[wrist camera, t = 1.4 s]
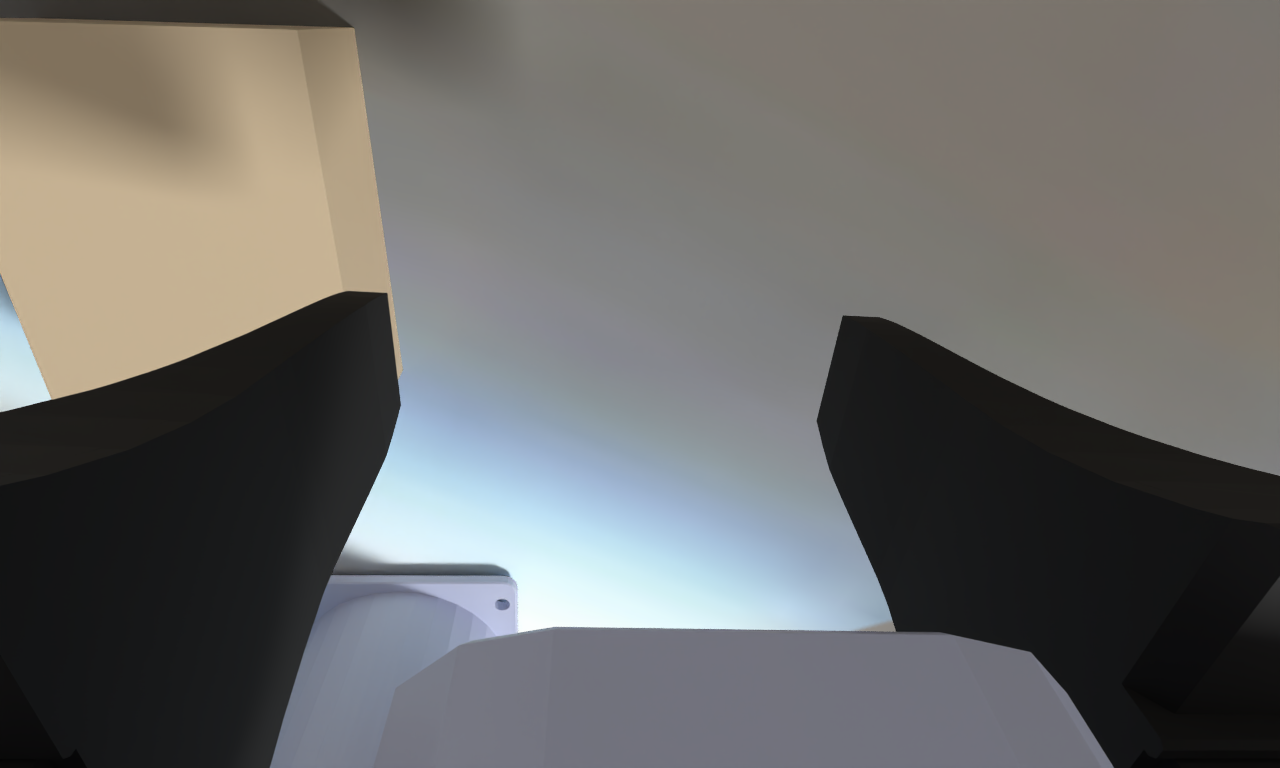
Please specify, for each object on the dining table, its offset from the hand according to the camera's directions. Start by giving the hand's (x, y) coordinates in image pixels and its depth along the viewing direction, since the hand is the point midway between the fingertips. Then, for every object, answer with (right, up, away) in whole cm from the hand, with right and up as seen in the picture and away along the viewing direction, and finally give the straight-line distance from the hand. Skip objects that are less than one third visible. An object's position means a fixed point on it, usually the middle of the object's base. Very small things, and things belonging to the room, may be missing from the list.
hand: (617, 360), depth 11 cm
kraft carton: (-10, +4, +7) cm, 13 cm away
